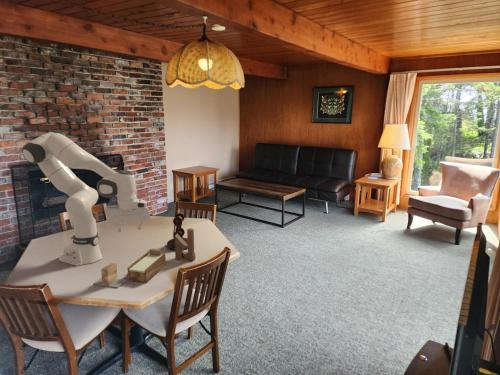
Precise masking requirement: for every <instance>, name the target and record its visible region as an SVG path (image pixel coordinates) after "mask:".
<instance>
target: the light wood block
mask: <svg viewBox="0 0 500 375" xmlns="http://www.w3.org/2000/svg"><path fill="white" fill-rule="evenodd" d="M117 266H118V265H117V263H114V262H109V263H108V264H106V265H104V267H102V268H101V269H100V272H101V273H100V274H101V278H102V285H108V286H109V285H110V284H112V283H113V282H114V281H115V280H117V279H119V277H118V269H117Z"/></svg>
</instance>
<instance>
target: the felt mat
mask: <svg viewBox="0 0 500 375" xmlns="http://www.w3.org/2000/svg"><path fill="white" fill-rule="evenodd" d="M126 282H127V280H126V279H121V278H118V279H117V280H115V281H114V282H113V283H112V284H110V285H109V286H108V285H102V277H100V278H99V279H97V280H96V281H95V282H93V285H94V286H100V287H108V288H112V289H119V288H120V287H121V286H122V285H124V284H125V283H126Z"/></svg>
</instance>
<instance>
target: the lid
mask: <svg viewBox="0 0 500 375" xmlns="http://www.w3.org/2000/svg"><path fill="white" fill-rule="evenodd" d="M163 254H164V253H163ZM163 254H162V249H159V248H150V249H149V254H148V255H147V256H145V257H144V258H143V259H141V260H140V261H139V262H138V263H136V264H135V265H134V266H133V267H131V268H130V269H129V271H134V272H141V273H145V269H147V268H148V267H149V266H150V265H151V264H152V263H154V262H155V261H156V260H157V259H158V258H159V257H161V256H162V255H163Z"/></svg>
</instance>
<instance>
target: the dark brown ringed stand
mask: <svg viewBox="0 0 500 375" xmlns="http://www.w3.org/2000/svg"><path fill="white" fill-rule="evenodd" d="M184 221H185V215H184V214H183V213H180V212H179V213H177V214H175V216H174V218H173V219H172V223H173V233H172V237H173V238H171V239H169V240H168V241H167V242H166V246H167V247H168V248H169V250H171V249H173V250H175V235H176V234H178V235H179V236H180V237H181V238H182V239H183V240H184V241H185V242H186V243H187V244H188V241H187V237H184V235H185V234H186V233H185V229H184V228H183V227H182V226H183V222H184ZM184 249H185V250H187V249H186V248H184Z"/></svg>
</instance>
